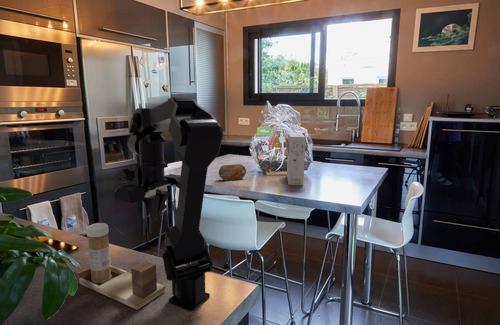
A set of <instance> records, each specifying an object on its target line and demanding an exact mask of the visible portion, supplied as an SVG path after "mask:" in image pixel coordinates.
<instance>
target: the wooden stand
mask: <svg viewBox="0 0 500 325" xmlns="http://www.w3.org/2000/svg"><path fill="white" fill-rule="evenodd" d="M80 268H81V269H80ZM80 268H78V269H76V270H73V275H74V274H75V276H76V278H77V281H78V283H77V284H80V285H82V286H84V287H86V288H88V289H89V290H90V289H91V290H92V291H95V292H97V293H100V294H102V295H104V296H106V297H108V298H110V299H113V300H115V301H117V302H119V303H121V304H123V305H126V306H128V307H130V308H132V309H135V310H136V311H138V310H139V309H141V308H143V306H145V305H147V304H149V303H150V302H151V301H153V300H154V299H156V298H157V297H159V296H161V295H162V294H163V293H165V292H166V285H164V284H161V283H158V282H157V281H158V280H157V264H156V263H154V262H152V261H148V260H144V261H143V262H141V263H139V264H137V265H135V266H132V267H131V268H130V269H131V272H130V271H127V270H125V269H123V268H119V267H116V266H114V265H110V268H111V273H112V272H113V273H115V274H117V276H115V277H113V278H111V279H110V280H108V281H107V282H104V283H101V284H100V285H99V284H97V283H93V282H92V281H90V280H91V268H90V263H89V264H87V265H84V266H83V267H80Z"/></svg>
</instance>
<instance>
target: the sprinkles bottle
mask: <svg viewBox="0 0 500 325" xmlns="http://www.w3.org/2000/svg"><path fill="white" fill-rule="evenodd" d="M86 236H87V239H88V240H87V242H88V255H89V256H88V257H89V264H90V268H91V278H90V282H92V283H94V284H96V285H99V284H104V283H106V282H108V281H109V280H111V279H112V271H111V268H110V265H111V251H110V250H111V249H110V248H111V247H110V243H109V225H108V224H107V223H104V222H96V223H92V224H89V225H88V226H87V227H86Z"/></svg>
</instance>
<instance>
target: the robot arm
mask: <svg viewBox="0 0 500 325" xmlns="http://www.w3.org/2000/svg"><path fill="white" fill-rule="evenodd" d="M131 116H132V117H131V118H130V121H129V125H128V128H127V129H128V132H129V136H130V137H129V138H128V140H127V147H128V150H129V151H130V152H132V153H133V154H135V155H138V156H139V163H136V164H135V169H133V170H130V169H129V168H124V169H119V171H118V179H119V182H120V183H121V184H123V183H125V185H123V186H118V187H117V188H116V189H115V191H114V200H115V201H121V202H125V203H129V204H133V203H137V202H140V201H142V202H143V203H144V205H145V207H146V209H147V211H148V214H149V216H150V218H151V220H152V221H157V220H158V218H159V216H160V214H161V212H162V210H163V208H164V205H165V204H166V202H167V200H168V198H169V196H170V195H172V191H171V190H168V188H167V187H171V186H174V185H175V186H176V188H177V189H178V198H177V205H176V206H177V207H176V216H175V225H172V226H171V225H170V226H168V227H166V229H165V233H164V241H163V243H164V246H163V248H162V251H161V253H162V254H161V256H162V257H161V258H162V261H163V266H164V271H165V275H166V276H165V277H166V279H165V280H167V281H169V282H170V281H171V288H172V289H171V290H172V296H171V297H169V298H168V300H167V301H168V303H169V304H172V305H175V306H177V307H179V308H181V309H184V310H187V311H189V312H193V311H194V310H196V308H198V307H199V306H200V305H201V304H203V303H205V301H207V300H208V299H209V298H210V297H211V294H210V293H209V292H206V273H211V272H212V269H213V265H214V264H213V261H212V257H211V255H210V254H209V251H208V249H207V246H206V239H205V237H204V236H203V234H202V232H201V231H200V226H201V225H200V224H201V217H202V211H203V204H204V196H205V191H206V190H205V189H206V184H207V183H206V182H207V178H208V177H207V175H208V168H209V167H210V165H211V164H212V163H213V162H214V161H215V160H216V158H217V157H218V155H219V153H220V151H221V150H220V149H221V145H222V140H223V138H224V130H223V128H222V126H221V124H220V123H219V121H218V120H217V119H216V118H215V115H214V114H212V112H210V111H208V110H206V109H205V108H203V107H202V106H201V105H199V103H198V102H197V101H196V99H195V98H192V97H190V96H185V97H183V96H172V97H170V98H167V100H166V101H164V102H162V103H160V104H158V105H156V106H154V107H138V108H136V109H135V111H134V112H133V114H132V115H131ZM187 118H190V119H187ZM165 130H168V133H169V134H170V136H171V138H172V140H173V143H174V149H175V152H176V153H177V154H178V157H179V159H180V161H181V170H180V175H179V174H175V173H169V174H166V175H165V168H168V167H169V164H168V163H167V162H165V151H164V149H165V148H164V147H165V146H164V143H165V142H166V140H165V139H166V138H165V137H164V136H163V133H164V132H165ZM133 184H134V185H133ZM139 185H140V186H139Z"/></svg>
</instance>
